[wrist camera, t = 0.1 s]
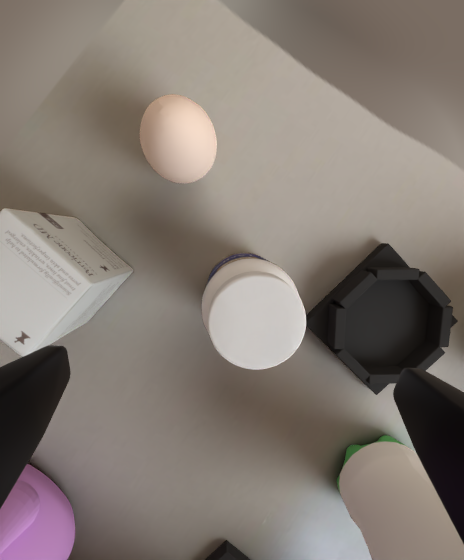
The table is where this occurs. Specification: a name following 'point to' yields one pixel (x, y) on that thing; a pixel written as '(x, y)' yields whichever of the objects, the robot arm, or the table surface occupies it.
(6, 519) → the teapot
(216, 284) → the pill bottle
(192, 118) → the egg
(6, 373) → the robot arm
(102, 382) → the table surface
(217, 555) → the base pad
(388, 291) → the foot pad
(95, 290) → the white cardboard box
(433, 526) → the cup
